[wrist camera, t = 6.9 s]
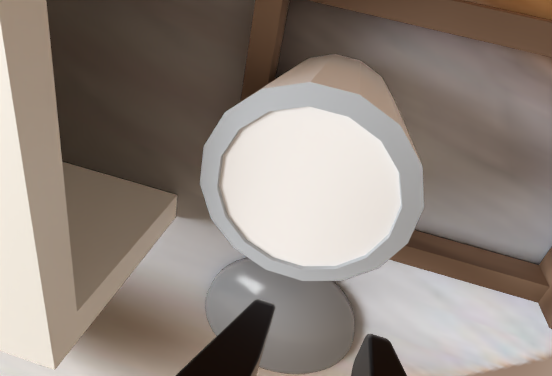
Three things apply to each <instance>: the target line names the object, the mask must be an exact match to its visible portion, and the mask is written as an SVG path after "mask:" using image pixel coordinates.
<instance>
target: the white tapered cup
mask: <svg viewBox="0 0 552 376" xmlns="http://www.w3.org/2000/svg"><path fill="white" fill-rule="evenodd" d="M200 186H201V189H202V192H203V195H204V198H205V202H206V205H207V208H208V211H209V214H210V218H211V219H212V221H213V222H214V223H215V225H216V226H217V227H218V228H219V230H220V231H221V232H222V234H223V235H224V236H225V237H226V239H227V240H228V241H229V243H230V244H231V245H232V246H233V248H234V249H236V250H237V251H239V252H240V253H242V254H243V255H245V256H246V257H248V258H249V259H251V260H252V261H254V262H255V263H257V264H258V265H260V266H261V267H262V268H264V269H265V270H268V271H272V272H275V273H278V274H282V275H285V276H288V277H291V278H295V279H298V280H301V281H343V280H346V279H349V278H352V277H355V276H357V275H360V274H363V273H366V272H369V271H372V270H375V269H378V268H379V267H381V266H382V265H383V264H384V263H385V262H386V261H388V260H389V259H390V258H391V257H392V256H394V255H395V254H396V253H397V252H398V251H399V250H401V249H402V248H403V247H404V246H405V245H406V244H408V242H409V240H410V238H411V235H412V233H413V231H414V229H415V227H416V224H417V222H418V220H419V218H420V216H421V214H422V211H423V209H424V190H423V166H422V163H421V161H420V159H419V156H418V154H417V152H416V149H415V147H414V145H413V142H412V140H411V138H410V135H409V133H408V131H407V128H406V126H405V124H404V122H403V119H402V117H401V115H400V112H399V110H398V108H397V105H396V103H395V101H394V98H393V97H392V95H391V93H390V91H389V89H388V87H387V86H386V84H385V82H384V80H383V78H382V76H380V75H379V74H378V73H376V72H375V71H374V70H372V69H371V68H370V67H369V66H367V65H366V64H365V63H363V62H362V61H361V60H357V59H353V58H349V57H345V56H341V55H337V54H331V55H325V56H318V57H312V58H308V59H306V60H305V61H303V62H301V63H300V64H298V65H297V66H295V67H294V68H292V69H290V70H289V71H287V72H286V73H284V74H283V75H281V76H280V77H278V78H277V79H275V80H274V81H272V82H270V83H269V84H267V85H266V86H264V87H263V88H261V89H260V90H258V91H257V92H255V93H254V94H252V95H251V96H249V97H247V98H246V99H244V100H243V101H241V102H240V103H238V104H237V105H235V106H234V107H232V108H231V109H229V110H228V111H226V112H225V113H224V114H223V116H222V118H221V119H220V121H219V122H218V124H217V126H216V127H215V129H214V130H213V132H212V134H211V135H210V137H209V138H208V140H207V142H206V143H205V145H204V149H203V158H202V167H201V176H200Z"/></svg>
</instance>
